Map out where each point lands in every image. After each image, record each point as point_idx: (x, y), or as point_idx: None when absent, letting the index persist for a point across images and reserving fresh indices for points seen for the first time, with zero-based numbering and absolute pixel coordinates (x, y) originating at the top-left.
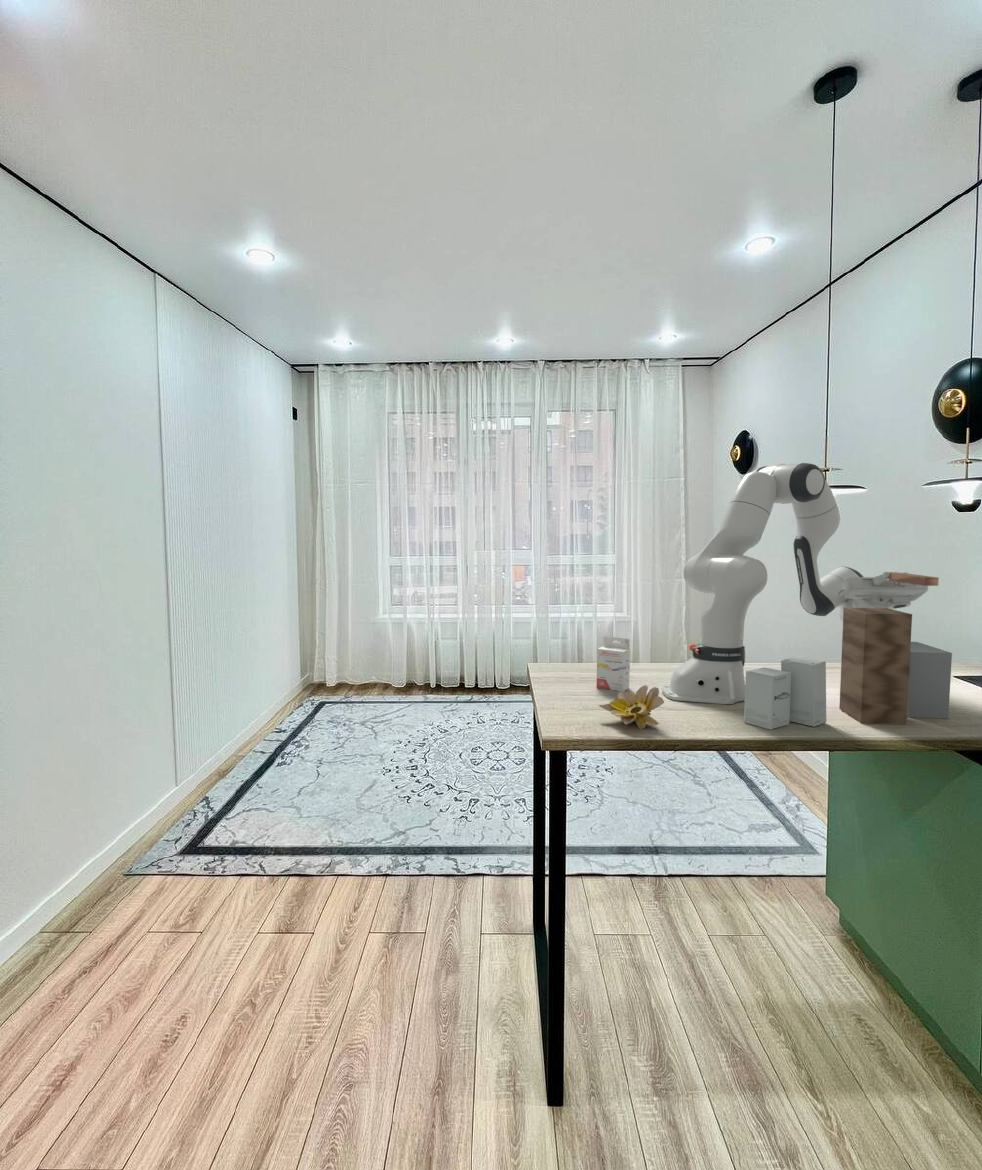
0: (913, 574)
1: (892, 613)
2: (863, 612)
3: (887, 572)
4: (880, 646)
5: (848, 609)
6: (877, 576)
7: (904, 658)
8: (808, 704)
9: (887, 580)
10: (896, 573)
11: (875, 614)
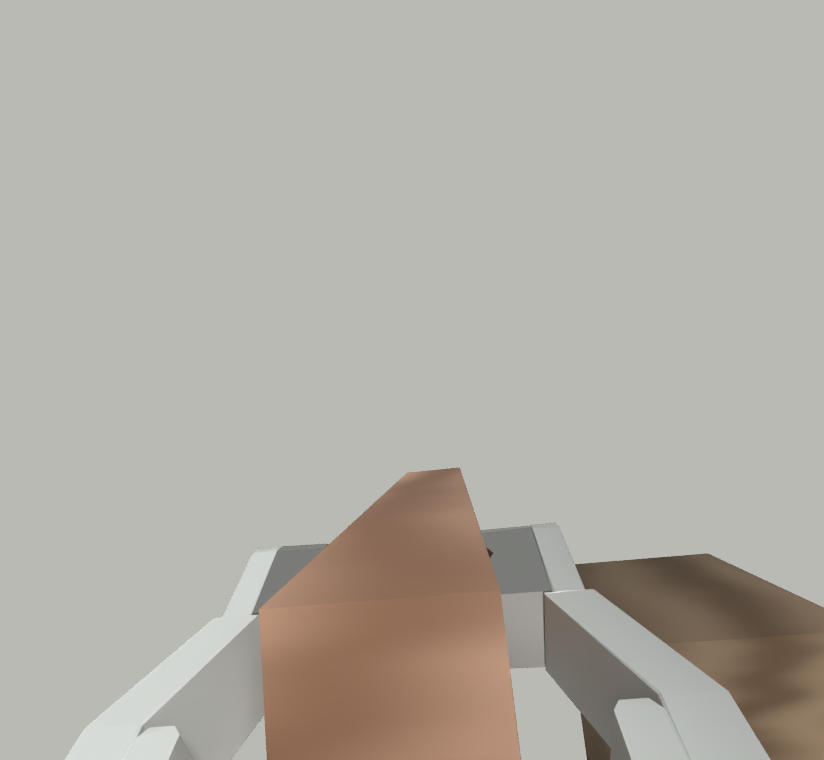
0: (390, 497)
1: (619, 565)
2: (720, 564)
3: (484, 551)
4: None
5: (816, 606)
6: (653, 642)
7: None
8: None
9: (516, 655)
10: (458, 511)
11: (676, 558)
